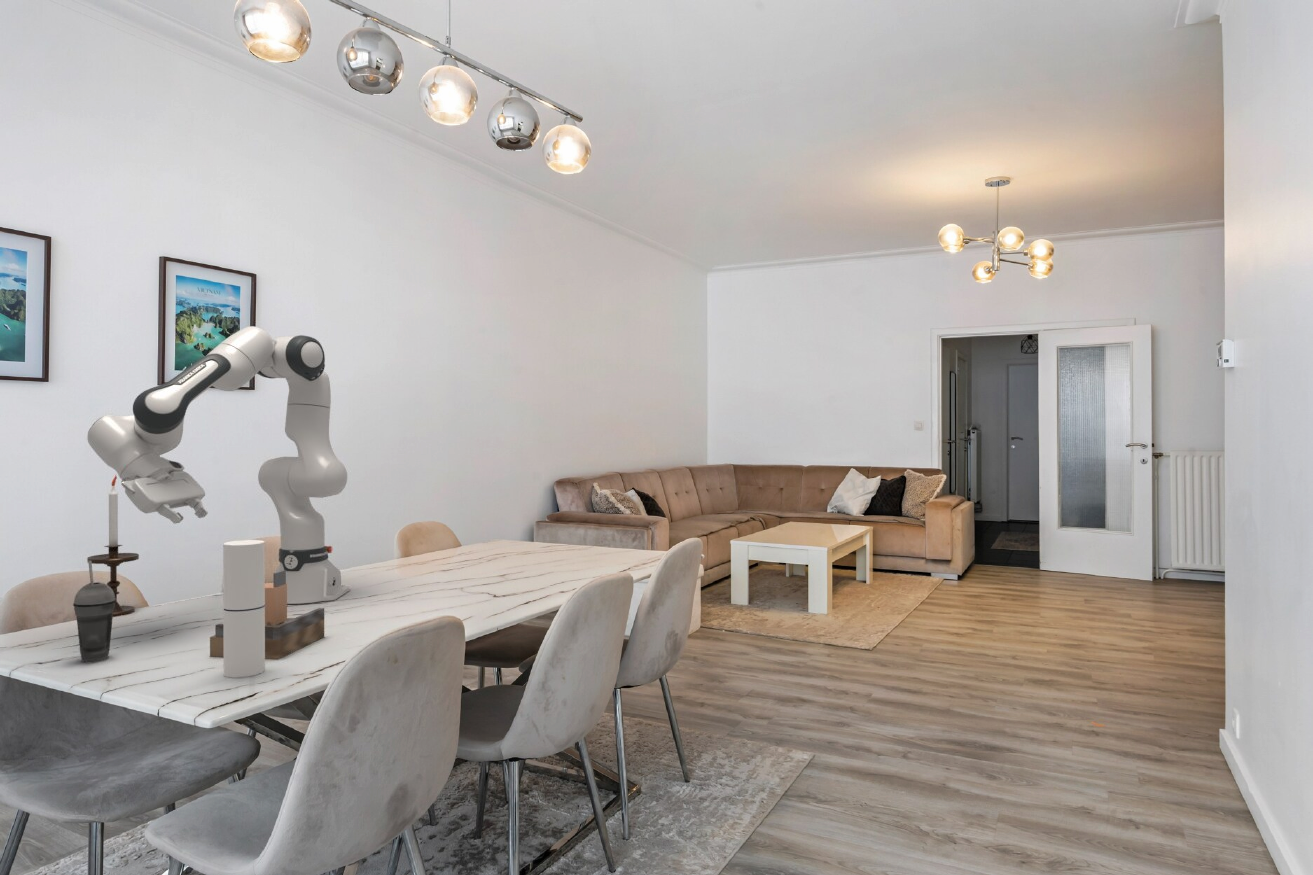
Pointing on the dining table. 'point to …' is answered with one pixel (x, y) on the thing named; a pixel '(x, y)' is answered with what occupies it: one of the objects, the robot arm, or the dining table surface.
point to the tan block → (276, 599)
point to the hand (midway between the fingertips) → (192, 518)
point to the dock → (281, 635)
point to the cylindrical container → (244, 608)
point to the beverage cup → (94, 619)
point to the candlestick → (114, 553)
